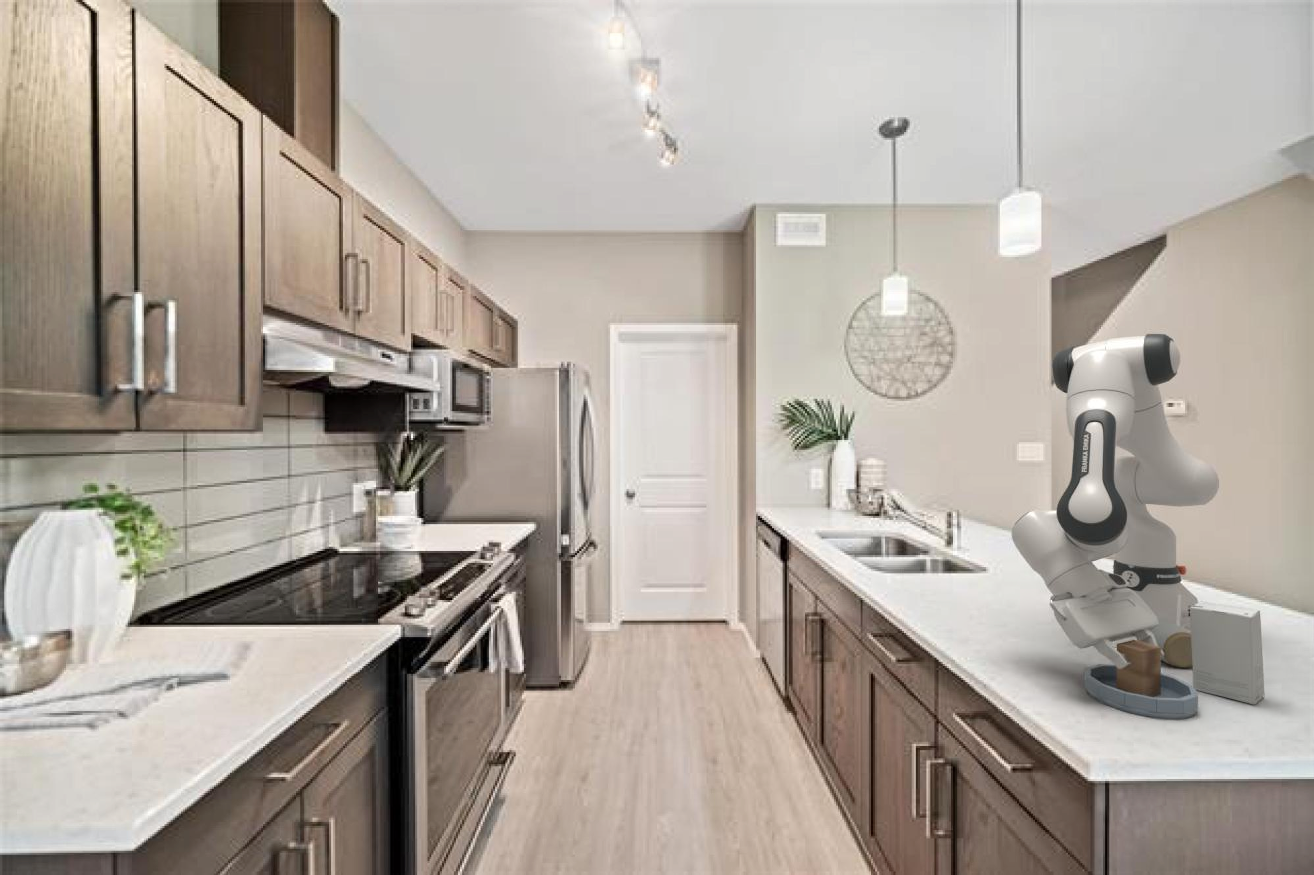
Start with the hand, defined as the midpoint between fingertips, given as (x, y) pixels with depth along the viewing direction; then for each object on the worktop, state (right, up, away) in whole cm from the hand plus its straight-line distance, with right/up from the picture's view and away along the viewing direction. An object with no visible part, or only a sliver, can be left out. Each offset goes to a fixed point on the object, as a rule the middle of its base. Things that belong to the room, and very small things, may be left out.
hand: (1142, 662), depth 104 cm
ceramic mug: (+20, -6, +17) cm, 27 cm away
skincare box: (+16, -6, +3) cm, 18 cm away
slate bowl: (0, -6, +1) cm, 6 cm away
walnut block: (0, -5, +1) cm, 5 cm away
